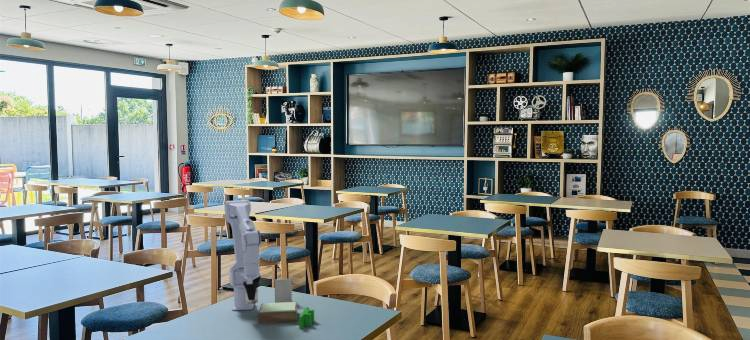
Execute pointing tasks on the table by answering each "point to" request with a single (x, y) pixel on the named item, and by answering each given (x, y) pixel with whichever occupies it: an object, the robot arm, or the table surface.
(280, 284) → the grey rectangular block
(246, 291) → the grey metal cylinder
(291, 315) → the walnut stand
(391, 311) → the table surface
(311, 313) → the pipe clamp
